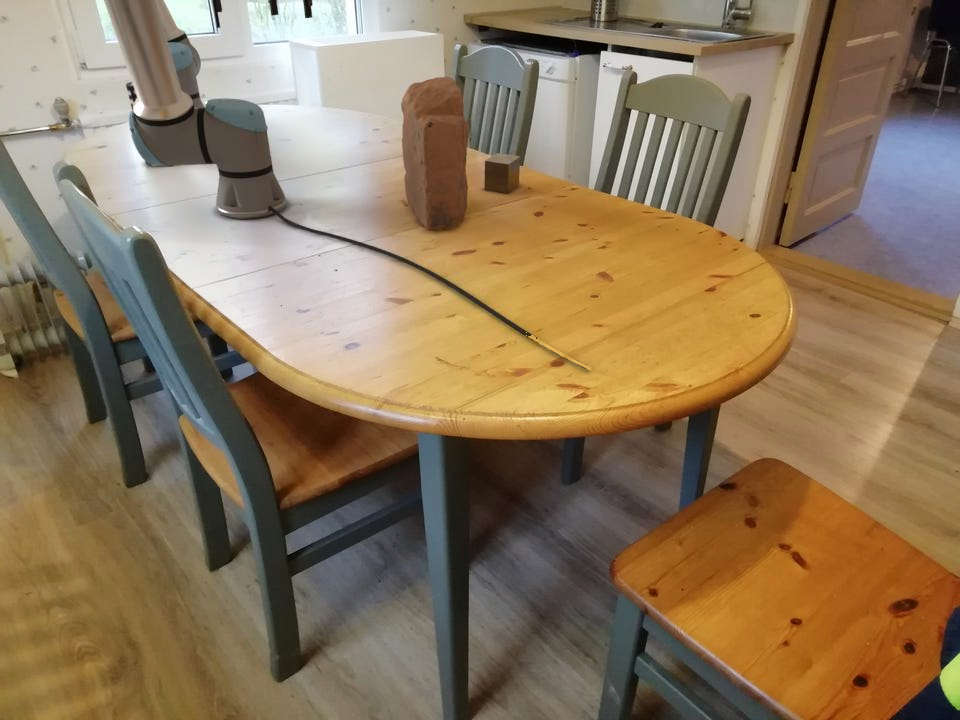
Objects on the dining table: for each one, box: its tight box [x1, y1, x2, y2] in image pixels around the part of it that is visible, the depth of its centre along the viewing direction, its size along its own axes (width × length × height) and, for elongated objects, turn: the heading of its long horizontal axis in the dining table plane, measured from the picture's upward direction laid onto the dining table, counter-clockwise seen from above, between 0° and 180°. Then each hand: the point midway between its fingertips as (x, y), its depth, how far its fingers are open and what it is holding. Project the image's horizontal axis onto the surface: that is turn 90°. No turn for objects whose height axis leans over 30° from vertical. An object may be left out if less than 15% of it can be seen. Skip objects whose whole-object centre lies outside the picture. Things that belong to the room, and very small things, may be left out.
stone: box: [400, 76, 469, 231], centre depth 148 cm, size 22×11×28 cm, turn 18°
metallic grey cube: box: [484, 152, 521, 194], centre depth 170 cm, size 6×7×7 cm
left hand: (291, 16), depth 222 cm, fingers open, 13 cm apart
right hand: (189, 28), depth 168 cm, fingers open, 13 cm apart
